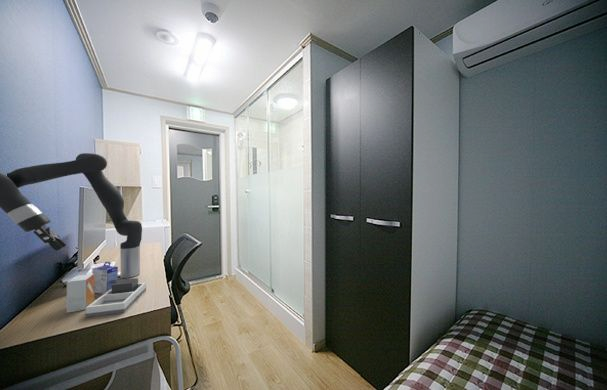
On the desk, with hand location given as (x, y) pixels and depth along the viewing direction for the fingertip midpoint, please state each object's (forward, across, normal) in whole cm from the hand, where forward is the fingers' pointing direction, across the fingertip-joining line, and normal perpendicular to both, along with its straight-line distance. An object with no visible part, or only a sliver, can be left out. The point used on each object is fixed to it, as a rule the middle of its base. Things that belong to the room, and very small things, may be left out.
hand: (61, 248), depth 91 cm
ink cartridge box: (+29, +13, +3) cm, 32 cm away
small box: (+26, 0, +9) cm, 27 cm away
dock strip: (+33, -6, -1) cm, 33 cm away
